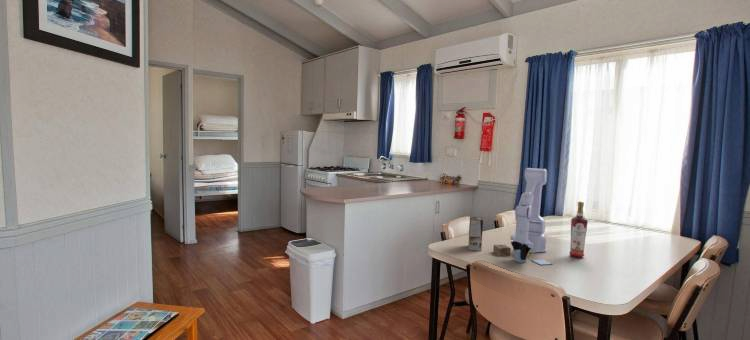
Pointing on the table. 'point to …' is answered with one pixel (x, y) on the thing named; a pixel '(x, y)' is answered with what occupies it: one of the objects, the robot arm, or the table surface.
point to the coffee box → (475, 233)
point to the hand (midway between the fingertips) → (520, 258)
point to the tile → (541, 262)
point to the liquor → (578, 233)
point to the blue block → (518, 256)
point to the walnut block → (502, 250)
